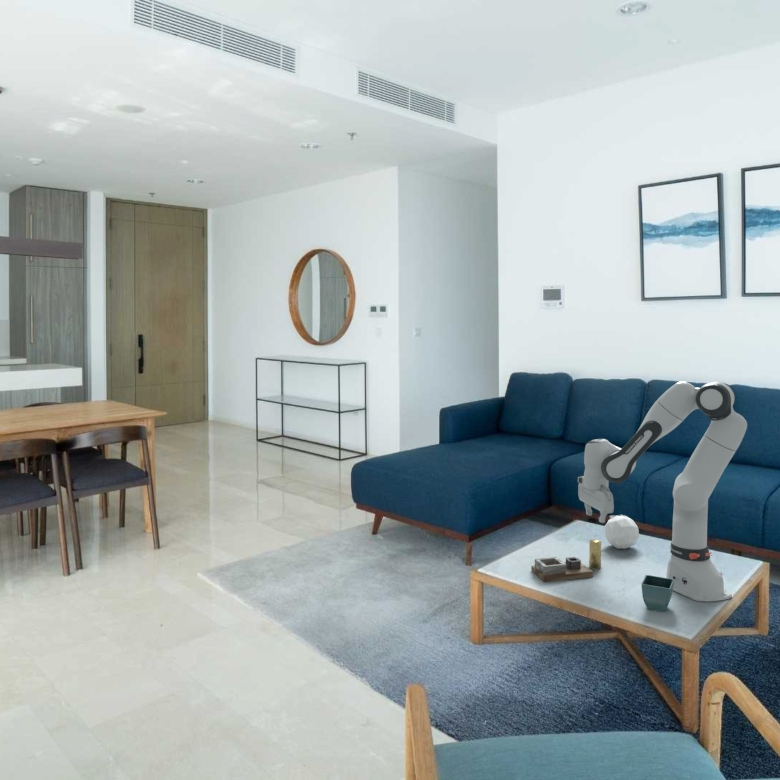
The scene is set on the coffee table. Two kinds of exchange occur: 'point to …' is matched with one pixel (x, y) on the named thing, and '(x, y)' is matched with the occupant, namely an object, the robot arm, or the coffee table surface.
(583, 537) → the coffee table surface
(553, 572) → the board
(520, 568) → the coffee table surface
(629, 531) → the geodesic sphere
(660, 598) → the flower pot
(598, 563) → the brass cylinder rod
